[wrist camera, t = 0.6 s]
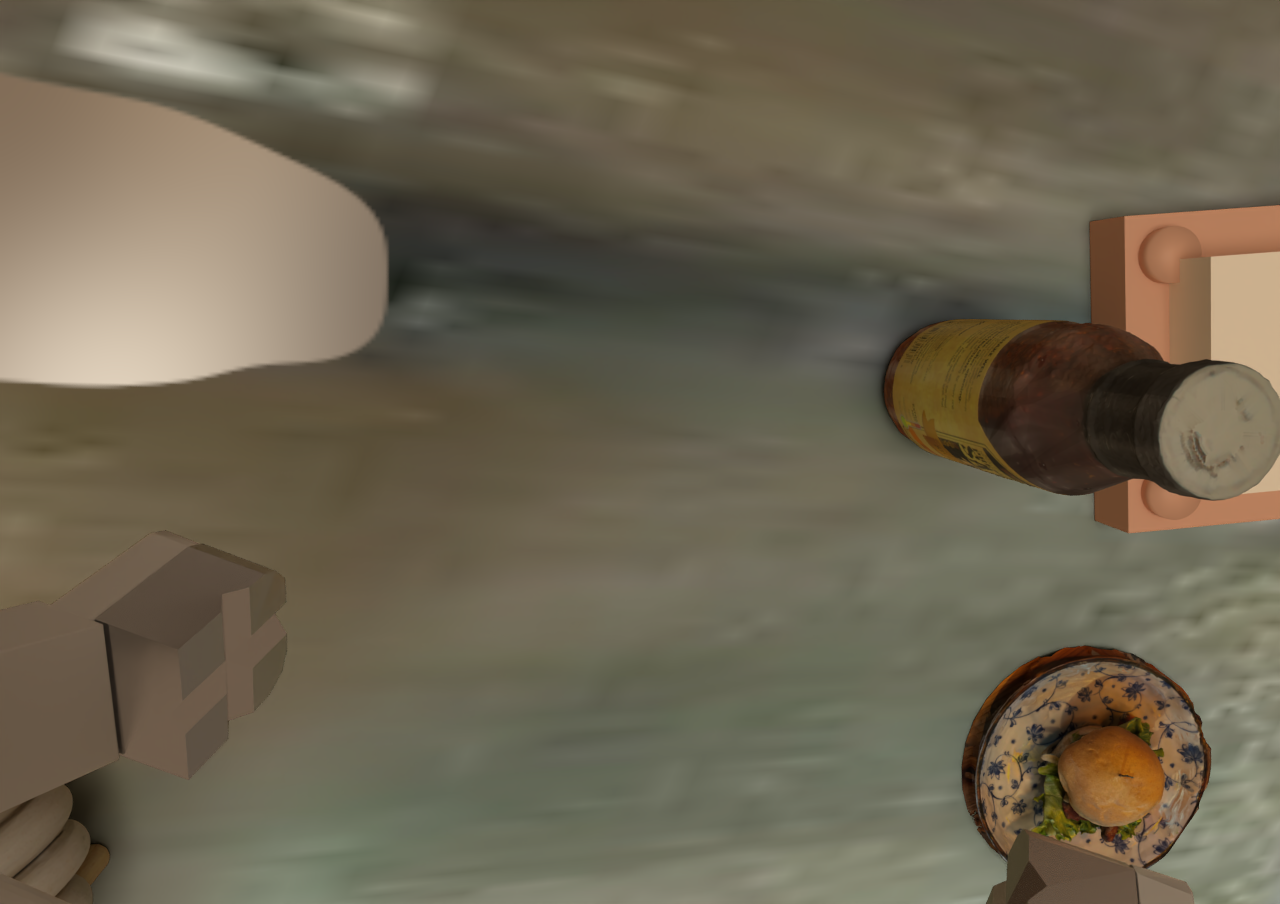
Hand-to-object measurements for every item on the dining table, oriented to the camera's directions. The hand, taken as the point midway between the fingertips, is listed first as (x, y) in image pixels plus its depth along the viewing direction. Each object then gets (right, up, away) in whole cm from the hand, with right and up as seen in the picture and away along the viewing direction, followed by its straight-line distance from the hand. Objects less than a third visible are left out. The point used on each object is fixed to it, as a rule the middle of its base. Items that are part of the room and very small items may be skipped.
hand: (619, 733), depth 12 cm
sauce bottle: (+14, +6, +39) cm, 42 cm away
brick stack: (+28, +7, +40) cm, 50 cm away
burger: (+22, -12, +43) cm, 49 cm away
